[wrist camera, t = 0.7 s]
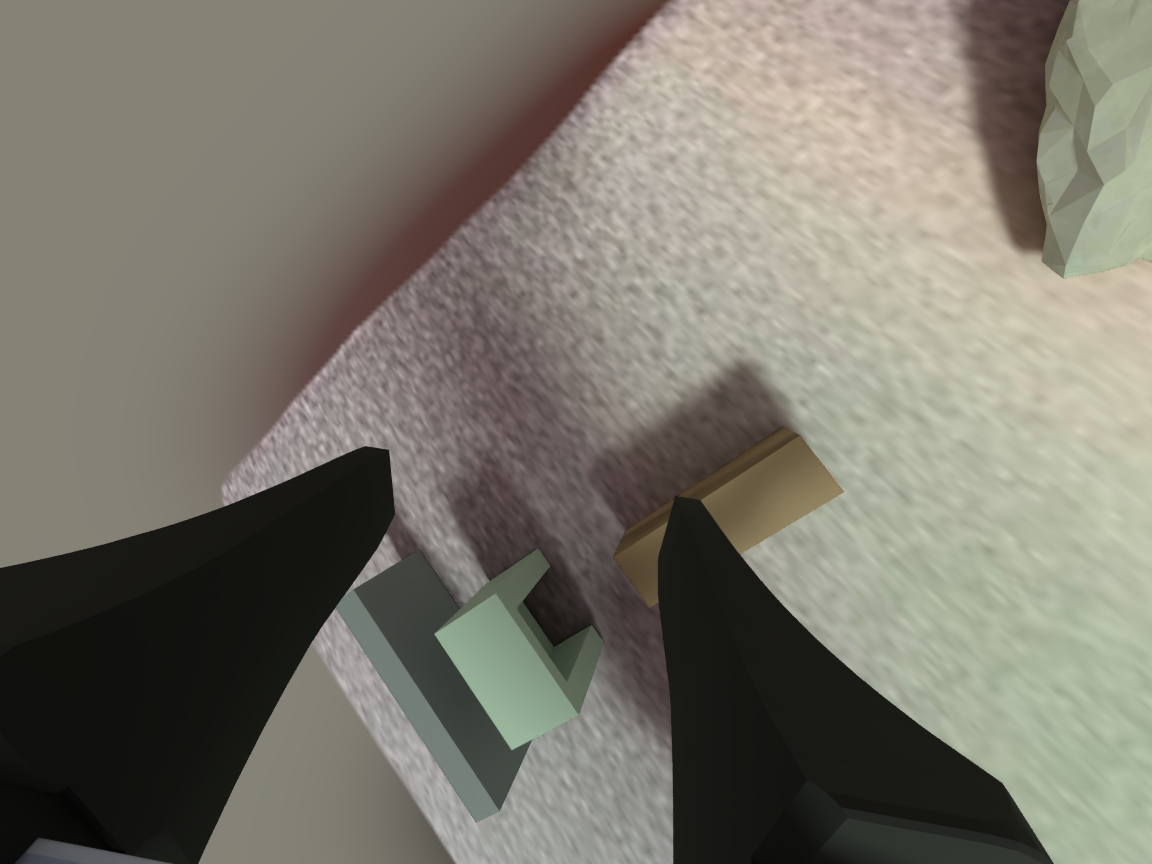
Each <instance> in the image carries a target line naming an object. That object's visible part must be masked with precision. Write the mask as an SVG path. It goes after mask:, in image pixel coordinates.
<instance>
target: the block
mask: <svg viewBox="0 0 1152 864" xmlns="http://www.w3.org/2000/svg"><path fill="white" fill-rule="evenodd" d="M549 567H550V565H549V563H548V562H547V560H546V559H545V557H544V556H543V554H542V553H541V552H540V550H539V549H536V550H535V551H533V552H532V553H531V554H529V555H528V556H526V557H525V558H523V559H522V560H520V561H519V562H517V563H516V564H514V565H513V566H511V567H510V568H508V569H507V570H505V571H504V572H502V573H501V574H499V575H498V576H496V577H495V578H493V579H492V580H490V581H489V582H488V583H487V584H485V585H484V586H483V587H482V588H481V589H480V590H479V591H478V592H477V593H476V594H475V595H474V596H473V597H472V598H471V599H470V600H469V601H468V602H467V603H466V604H465V605H464V606H463V607H462V608H461V609H460V610H459V611H458V612H456V613H455V614H454V615H453V616H452V617H451V618H450V619H449V620H448V621H447V622H446V623H445V624H444V625H443V626H442V627H441V628H440V629H439V630H438V631H437V632H436V633H435V636H436V637H437V639H438V640H439V642H440V643H441V645H442V646H443V648H444V649H445V651H446V652H447V654H448V655H449V657H450V658H451V660H452V661H453V663H454V664H455V666H456V667H457V669H458V670H459V672H460V673H461V675H462V676H463V678H464V679H465V681H466V682H467V684H468V685H469V687H470V688H471V690H472V691H473V693H474V694H475V696H476V697H477V699H478V700H479V702H480V703H481V705H482V706H483V708H484V709H485V711H486V712H487V714H488V715H489V717H490V718H491V720H492V721H493V723H494V724H495V726H496V727H497V729H498V730H499V732H500V733H501V735H502V736H503V738H504V739H505V741H506V742H507V744H508V745H509V747H510V748H511V750H513V749H515V748H517V747H519V746H521V745H523V744H525V743H526V742H528V741H530V740H532V739H534V738H536V737H538V736H540V735H542V734H544V733H546V732H547V731H549V730H551V729H553V728H555V727H557V726H559V725H561V724H563V723H565V722H567V721H568V720H570V719H572V718H574V717H576V716H578V715H579V713H580V710H581V707H582V704H583V702H584V699H585V696H586V693H587V690H588V687H589V684H590V682H591V679H592V676H593V673H594V670H595V667H596V664H597V661H598V659H599V656H600V653H601V650H602V647H603V644H604V642H603V641H602V639H601V638H600V636H599V635H598V634H597V632H596V631H595V629H594V628H593V626H592V625H590V626H589V627H587V628H585V629H584V630H582V631H580V632H579V633H577V634H575V635H573V636H572V637H570V638H568V639H567V640H565V641H563V642H562V643H560V644H558V645H556V646H555V647H553V645H552V644H551V642H550V641H549V640H548V638H547V637H546V635H545V634H544V632H543V631H542V629H541V628H540V626H539V625H538V624H537V622H536V621H535V619H534V618H533V616H532V615H531V613H530V612H529V610H528V609H527V608H526V606H525V605H524V603H523V602H522V601H523V600H524V599H525V597H526V596H527V595H528V594H529V592H530V591H531V590H532V589H533V587H534V586H535V585H536V583H537V582H538V581H539V580H540V578H541V577H542V576H543V575H544V573H545V572H546V571H547V569H548V568H549Z"/></svg>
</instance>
